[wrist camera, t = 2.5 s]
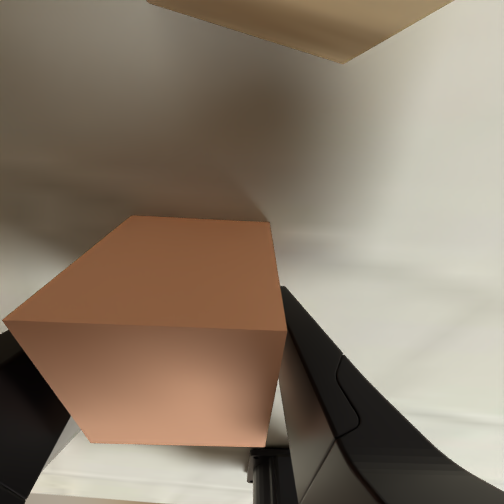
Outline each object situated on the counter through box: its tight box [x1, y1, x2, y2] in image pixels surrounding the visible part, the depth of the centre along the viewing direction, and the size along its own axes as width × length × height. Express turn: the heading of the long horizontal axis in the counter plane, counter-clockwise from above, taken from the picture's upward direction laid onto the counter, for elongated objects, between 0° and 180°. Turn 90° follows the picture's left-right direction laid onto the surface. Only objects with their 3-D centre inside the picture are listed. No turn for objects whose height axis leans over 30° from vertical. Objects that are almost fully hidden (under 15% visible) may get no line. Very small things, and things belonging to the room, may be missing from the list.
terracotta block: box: [2, 215, 287, 447], centre depth 7 cm, size 5×5×5 cm
